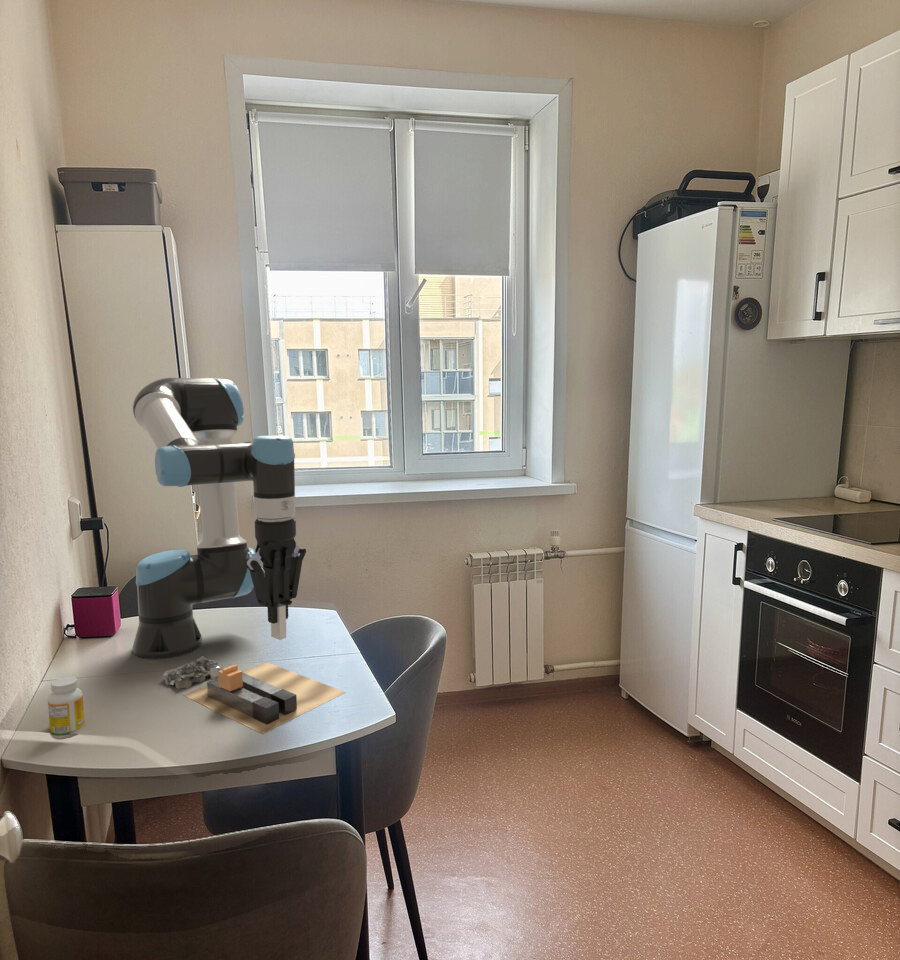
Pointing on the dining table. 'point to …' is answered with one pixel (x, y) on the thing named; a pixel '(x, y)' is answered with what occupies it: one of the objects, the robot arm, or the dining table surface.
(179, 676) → the grey lumpy stone piece
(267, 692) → the bar
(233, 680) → the tab
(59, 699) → the supplement bottle
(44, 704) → the dining table surface
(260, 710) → the tongs fixed
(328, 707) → the dining table surface
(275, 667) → the board
